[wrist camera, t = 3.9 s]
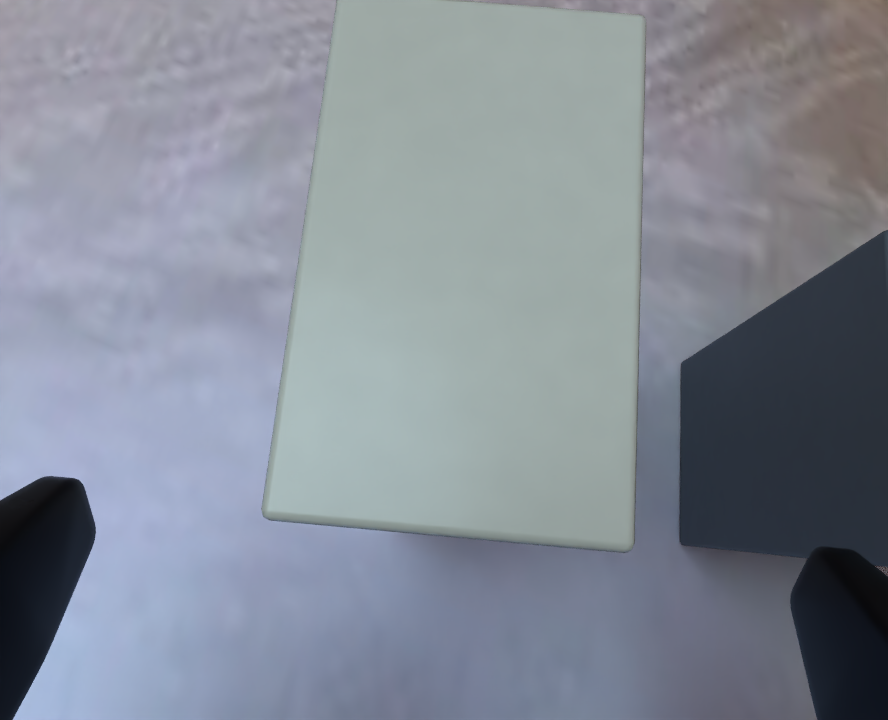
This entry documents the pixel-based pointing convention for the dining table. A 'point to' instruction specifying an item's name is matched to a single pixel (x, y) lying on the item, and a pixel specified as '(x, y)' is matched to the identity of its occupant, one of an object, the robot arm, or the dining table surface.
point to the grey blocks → (794, 421)
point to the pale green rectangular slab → (469, 279)
